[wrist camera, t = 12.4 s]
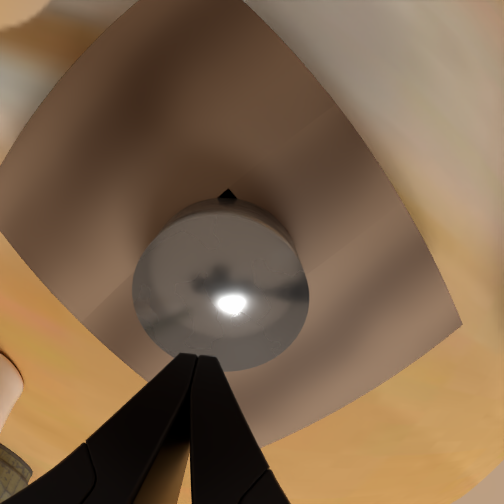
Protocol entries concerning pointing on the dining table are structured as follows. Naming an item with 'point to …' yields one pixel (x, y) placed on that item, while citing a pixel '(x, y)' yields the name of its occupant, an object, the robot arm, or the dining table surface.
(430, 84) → the dining table surface
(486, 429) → the dining table surface
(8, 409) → the white cylindrical piece
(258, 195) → the walnut beam
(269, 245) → the steel pin
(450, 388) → the dining table surface
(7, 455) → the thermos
